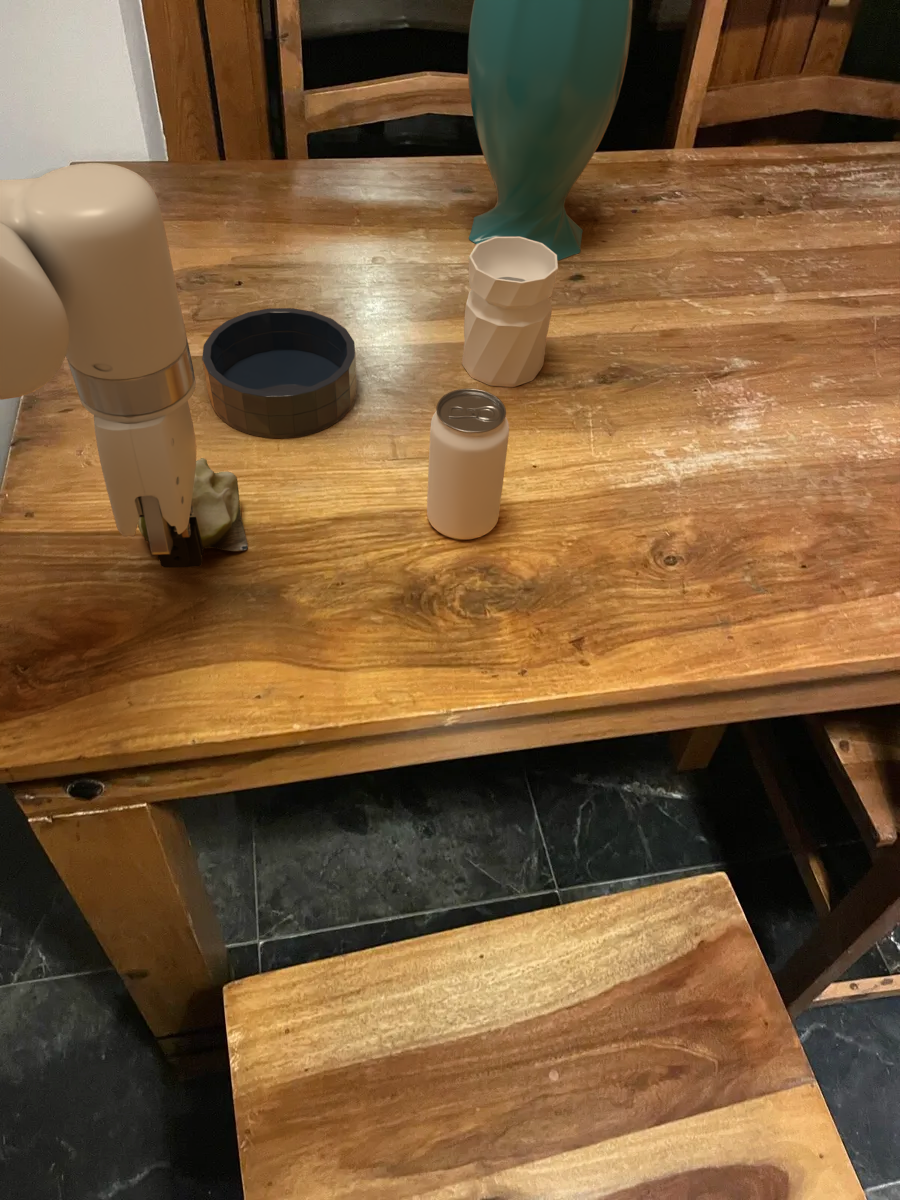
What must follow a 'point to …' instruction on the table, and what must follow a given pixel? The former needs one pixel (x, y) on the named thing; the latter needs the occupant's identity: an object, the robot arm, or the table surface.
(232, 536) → the fruit
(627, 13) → the vase
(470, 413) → the can
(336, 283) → the table surface
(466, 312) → the vase
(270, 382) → the pan
